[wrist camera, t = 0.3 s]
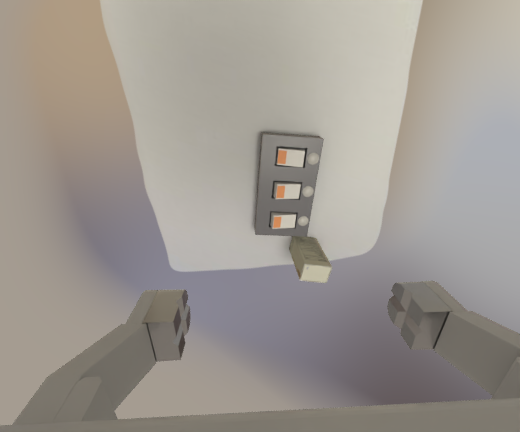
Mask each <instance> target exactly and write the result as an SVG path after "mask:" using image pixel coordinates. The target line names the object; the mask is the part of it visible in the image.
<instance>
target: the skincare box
mask: <svg viewBox="0 0 520 432" xmlns="http://www.w3.org/2000/svg"><path fill="white" fill-rule="evenodd" d="M290 252H291V255H292V258H293V261H294V264H295V267H296V270H297V273H298V276H299V279H300V280H302V281H309V282H320V283H321V282H322V283H326V282H327V280H328V278H329V275H330V273H331V270H332V266H331V264H330V263H329V261H328V259H327V257H326V255H325V254H324V252H323V250H322V248H321V246H320V245H319V243H318V241H317V239H316V238H311V237H302V236H293V238H292V241H291V245H290Z"/></svg>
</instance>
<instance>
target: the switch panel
mask: <svg viewBox="0 0 520 432" xmlns="http://www.w3.org/2000/svg"><path fill="white" fill-rule="evenodd" d="M323 140H324V139H323V138H321V137H319V136H306V135H292V134H279V133H265V132H262V136H261V150H260V163H259V177H258V191H257V204H256V218H255V235H278V236H302V237H307V232H308V227H309V221H310V215H311V209H312V203H313V198H314V192H315V186H316V180H317V174H318V169H319V163H320V157H321V151H322V146H323ZM279 147H283V148H293V149H303V150H305V156H304V162H303V167H293V166H284V165H277V158H278V148H279ZM275 182H298V183H300V184H301V187H300V193H299V199H275V198H274V197H273V193H274V183H275ZM272 212H294V213H295V214H296V221H295V227H294V228H278V229H272V227H271V226H270V223H271V213H272Z"/></svg>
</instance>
